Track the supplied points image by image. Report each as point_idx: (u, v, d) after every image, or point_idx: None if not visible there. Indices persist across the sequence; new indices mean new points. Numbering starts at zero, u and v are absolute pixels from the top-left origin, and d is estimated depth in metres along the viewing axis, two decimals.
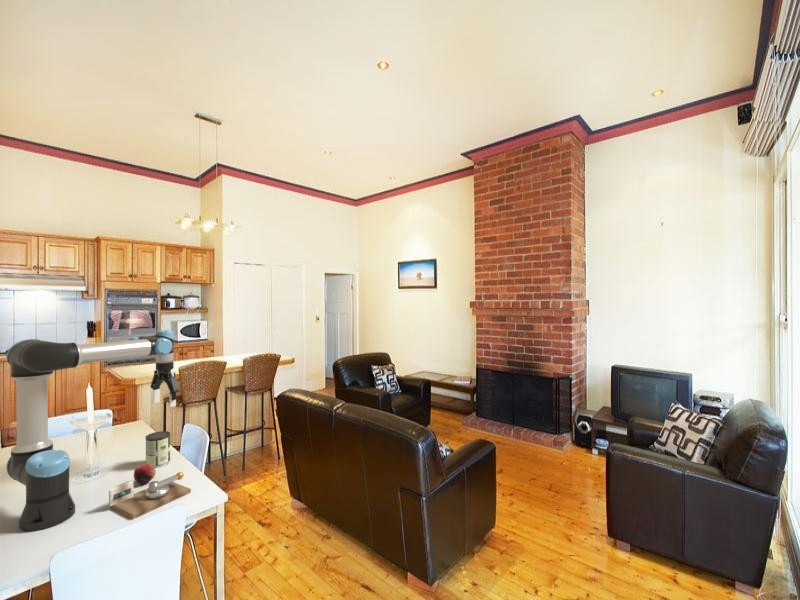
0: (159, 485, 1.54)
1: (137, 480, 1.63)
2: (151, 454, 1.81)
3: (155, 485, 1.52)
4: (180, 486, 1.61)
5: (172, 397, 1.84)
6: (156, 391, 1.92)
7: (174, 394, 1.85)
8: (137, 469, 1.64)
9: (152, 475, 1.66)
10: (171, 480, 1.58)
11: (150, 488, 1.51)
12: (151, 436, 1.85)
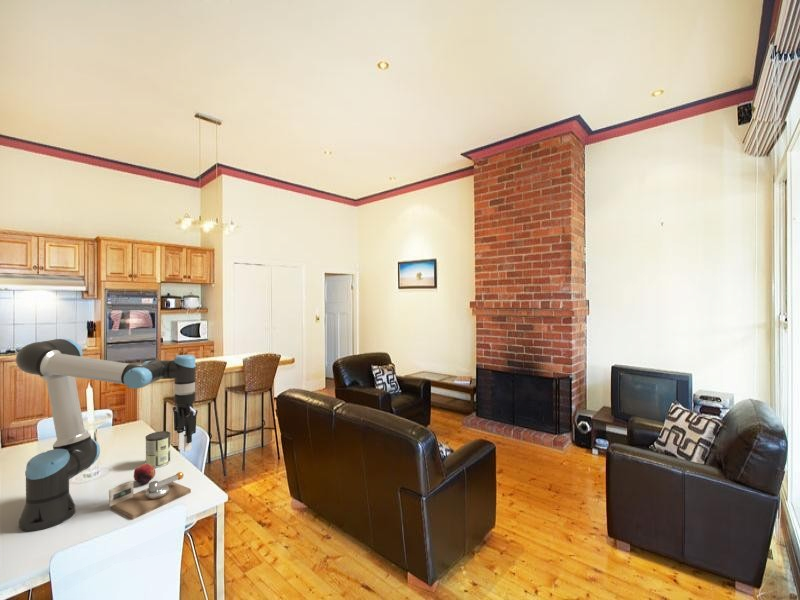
0: (159, 485, 1.54)
1: (137, 480, 1.63)
2: (151, 454, 1.81)
3: (155, 485, 1.52)
4: (180, 486, 1.61)
5: (187, 440, 1.56)
6: (181, 435, 1.58)
7: (189, 436, 1.56)
8: (137, 469, 1.64)
9: (152, 475, 1.66)
10: (171, 480, 1.58)
11: (150, 488, 1.51)
12: (151, 436, 1.85)
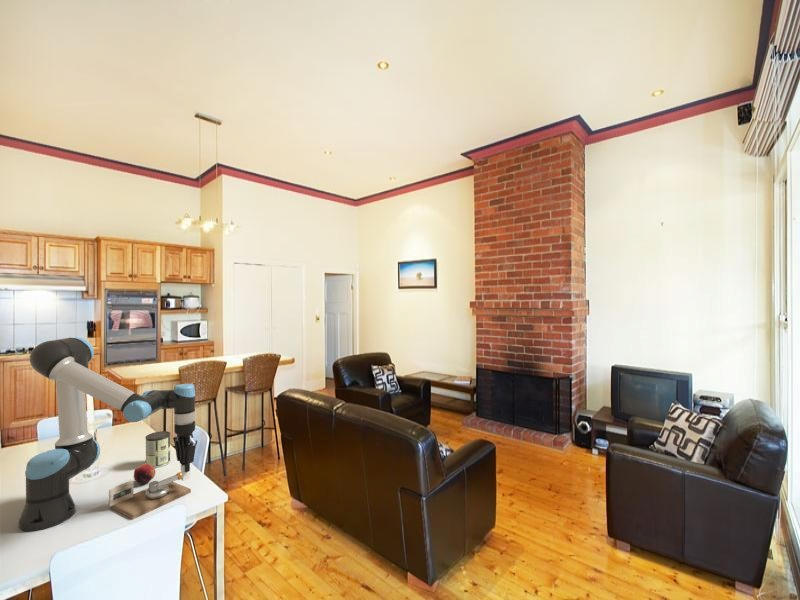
0: (159, 485, 1.54)
1: (137, 480, 1.63)
2: (151, 454, 1.81)
3: (155, 485, 1.52)
4: (180, 486, 1.61)
5: (185, 469, 1.56)
6: None
7: (187, 465, 1.57)
8: (137, 469, 1.64)
9: (152, 475, 1.66)
10: (171, 480, 1.58)
11: (150, 488, 1.51)
12: (151, 436, 1.85)
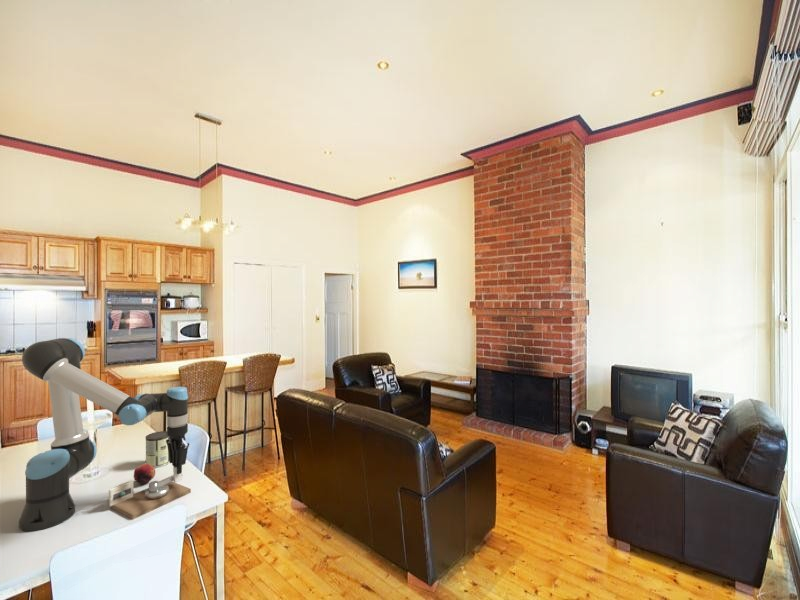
0: (159, 485, 1.54)
1: (137, 480, 1.63)
2: (151, 454, 1.81)
3: (155, 485, 1.52)
4: (180, 486, 1.61)
5: (177, 471, 1.59)
6: None
7: (179, 467, 1.59)
8: (137, 469, 1.64)
9: (152, 475, 1.66)
10: (170, 480, 1.58)
11: (150, 488, 1.51)
12: (151, 436, 1.85)
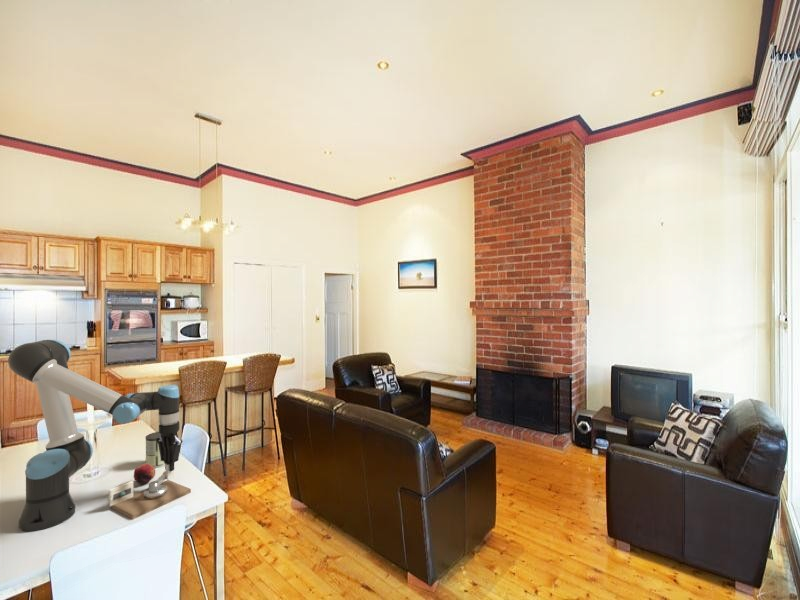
0: (158, 484, 1.55)
1: (137, 480, 1.63)
2: (151, 454, 1.81)
3: (157, 484, 1.53)
4: (180, 486, 1.61)
5: (170, 468, 1.61)
6: None
7: (172, 464, 1.61)
8: (137, 469, 1.64)
9: (152, 475, 1.66)
10: (164, 478, 1.59)
11: (153, 488, 1.51)
12: (151, 436, 1.85)
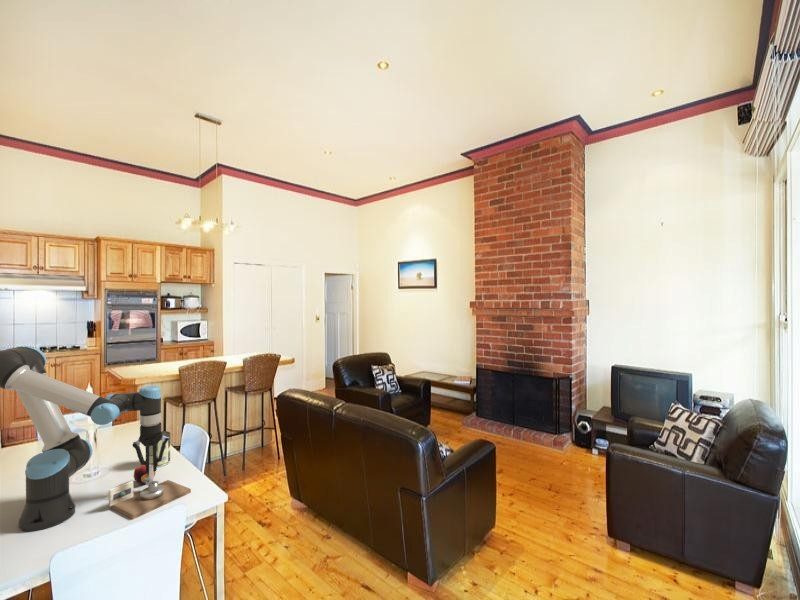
0: None
1: (137, 480, 1.63)
2: (151, 454, 1.81)
3: None
4: (180, 486, 1.61)
5: (154, 468, 1.60)
6: None
7: (156, 464, 1.61)
8: (137, 469, 1.64)
9: None
10: None
11: (156, 487, 1.52)
12: None
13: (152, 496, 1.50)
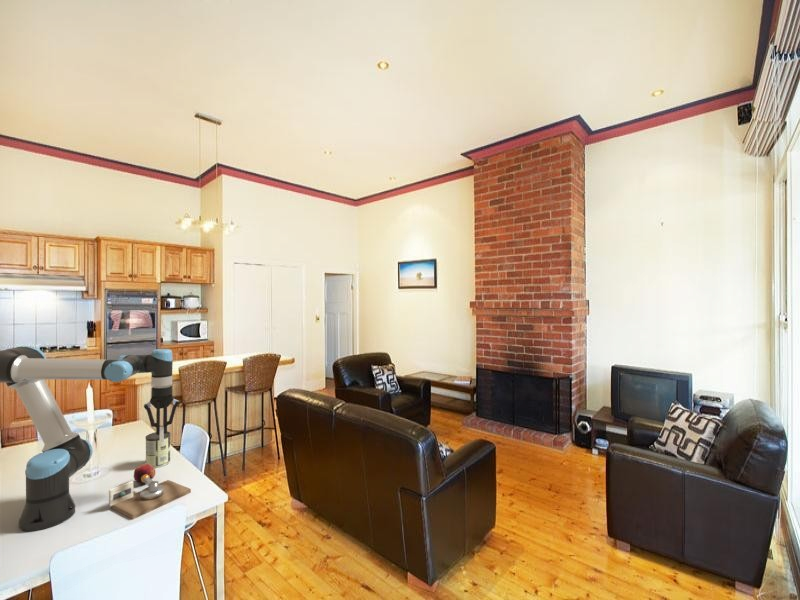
0: None
1: (137, 480, 1.63)
2: (151, 454, 1.81)
3: None
4: (180, 486, 1.61)
5: (165, 430, 1.61)
6: None
7: None
8: (137, 469, 1.64)
9: (152, 475, 1.66)
10: None
11: (156, 487, 1.52)
12: (151, 436, 1.85)
13: (152, 496, 1.50)
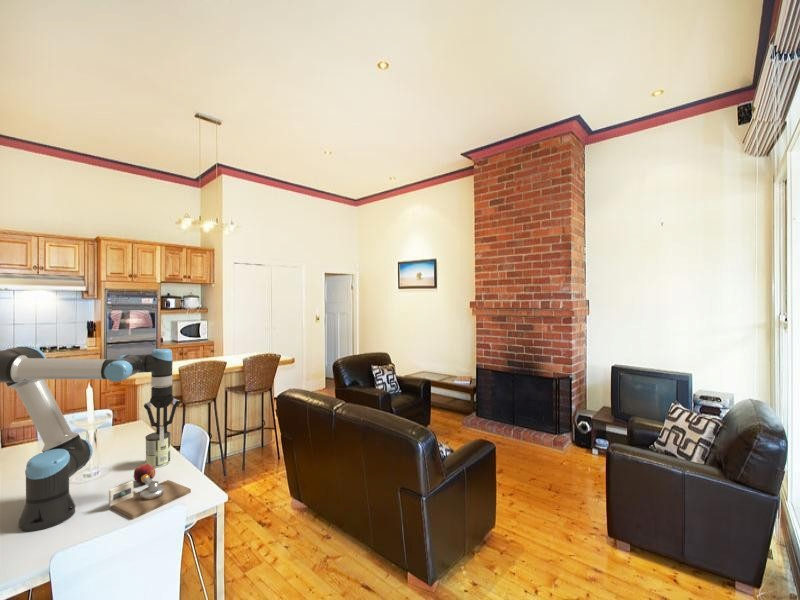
0: None
1: (137, 480, 1.63)
2: (151, 454, 1.81)
3: None
4: (180, 486, 1.61)
5: (165, 430, 1.61)
6: None
7: None
8: (137, 469, 1.64)
9: (152, 475, 1.66)
10: None
11: (156, 487, 1.52)
12: (151, 436, 1.85)
13: (152, 496, 1.50)
